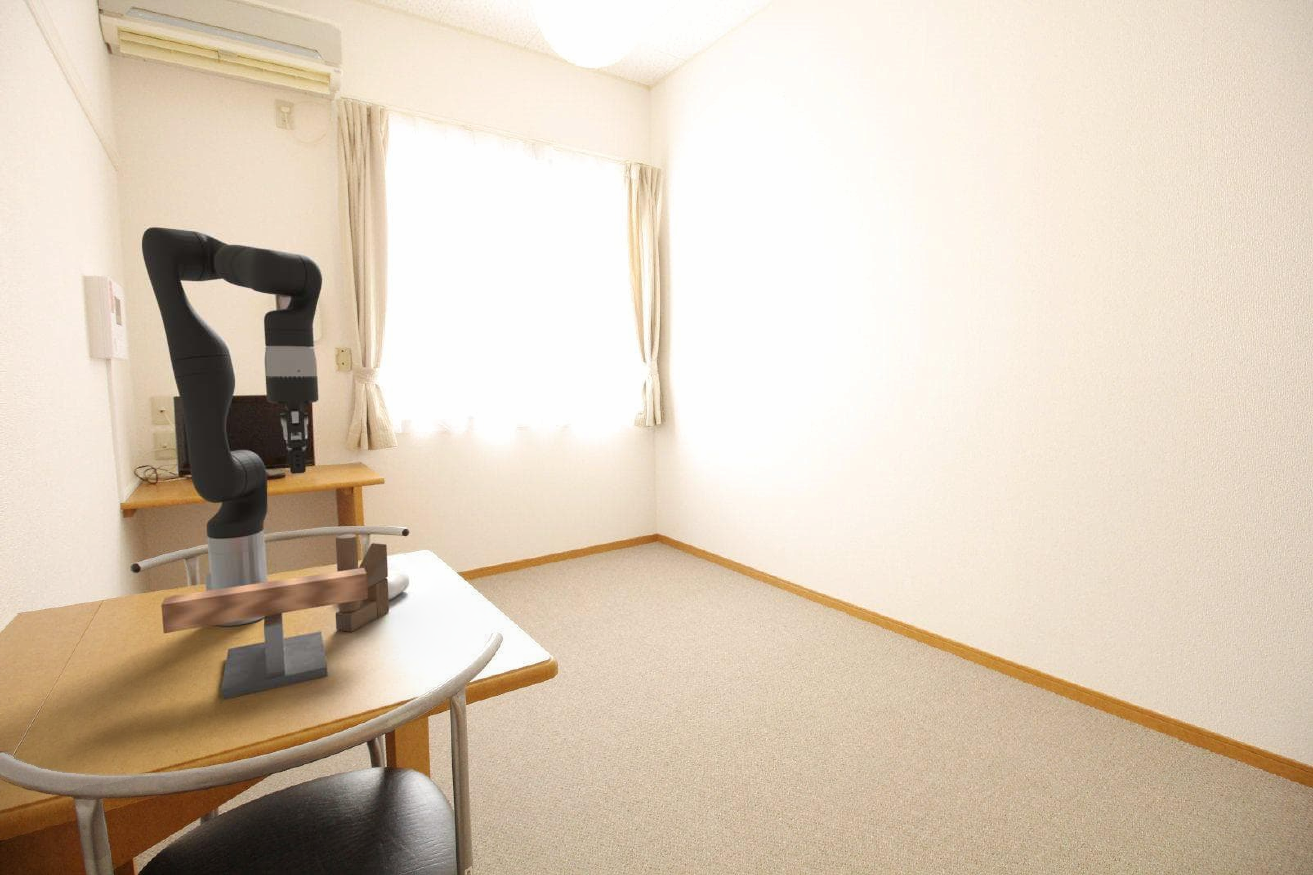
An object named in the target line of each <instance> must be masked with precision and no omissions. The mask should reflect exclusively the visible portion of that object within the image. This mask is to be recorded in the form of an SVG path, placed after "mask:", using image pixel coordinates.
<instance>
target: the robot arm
mask: <svg viewBox="0 0 1313 875" xmlns="http://www.w3.org/2000/svg"><path fill="white" fill-rule="evenodd" d="M141 252H142V256H143V257H142V258H143V261H144V265H145V268H146V271H147V276H148V279H149V281H150V284H151V287H152V289H153V290H152V291H153V293H154V297H155V300H156V302H157V305H158V309H159V312H160V316H161V320H162V324H163V328H164V332H165V336H166V343H167V346H168V352H169V353H168V354H169V358H170V362H171V368H172V372H173V376H174V380H175V384H176V388H177V391H178V392H177V393H178V395H179V401H180V405H181V411H182V416H183V420H184V426H185V433H186V440H187V441H186V442H187V449H188V450H187V451H188V460H189V461H188V462H189V471H190V478H191V482H192V484H193V487H194V489H195V491H196V492H197V494H198V495H199V496H200V497H201V498H202V499H203V500H205V501H207V503H213V504H219V503H221V505H220V508H219V509H218V511H217V512H216V513H215V514H214V515H213V516H212V517H211V518H210V519H209V520H208V521H207V523H206V538H207V549H208V550H207V551H208V552H207V553H208V563H209V566H208V567H209V572H208V573H206V574H205V577H204V579H205V580H204V581H205V591H210V590H217V589H224V588H231V587H237V586H244V585H251V584H258V583H264V582H268V572H267V571H268V570H267V561H266V560H267V558H266V557H267V556H266V544H265V542H266V541H265V529H264V526H265V525H264V523H265V519H266V517H267V515H268V514H267V513H268V475H267V468H266V466H265V463H264V462H263V460H262V459H261V457H260V456H259V455H258V454H257V453H255V452H253V451H251V450H249V449H237V450H230V446H229V442H228V436H227V435H228V434H227V427H226V426H227V417H228V414H229V411H230V410H229V409H230V407H231V403H232V401H233V397H234V393H235V388H236V376H235V372H234V365H233V363H232V362H233V361H232V358H231V357H232V356H231V353H230V350H229V347H228V346H227V344H226V343H225V341H224V340H223V339H222V337H221V336H220V335H219V334H218V333H217V332H216V331H215V330H214V329H213V327H212V326H210V325H209V323H208V322H207V321H205V319H203V318H202V316H201V315H200V314H199V313H198V312H197V311H196V309H195V308H194V307H193V305H192V304H191V302H190V300H189V298H188V296H187V294H186V292H185V289H184V287H183V284H182V282H207V281H216V280H224V281H225V282H227V283H229V284H231V285H235V286H237V287H241V288H247V289H249V290H250V289H251V290H253V291H255V292H258V293H262V294H267V295H276V296H285V297H290V301H289V303H288V305H287V307H286V308H284V309H283V308H282V309H275V310H271V311H268V312H266V313H265V315H264V317H263V330H264V345H265V349H264V350H265V351H264V372H265V373H264V374H265V376H264V377H265V388H266V400H267V402H269V403H271V404H283V405H285V407H284V409H283V411H284V413H280V424H281V426H282V430H283V431H282V432H283V440H285V443H286V450H288V463H289V464H288V465H289V472H290V473H291V474H292V475H293V474H294V475H296V474H304V473H306V469H307V468H306V448H307V441H306V440H307V439H308V437H309V436H308V433H309V432H308V425H309V414H308V412H304V410H303V407H302V406H303V404H305V403H306V404H308V403H317V402H318V401H319V385H318V384H319V383H318V382H319V381H318V367H317V366H318V365H317V364H318V363H317V358H316V356H317V355H316V353H315V344H314V343H315V340H314V321H315V320H314V319H315V316H316V311H317V307H318V306H317V305H318V302H319V299H320V298H319V297H320V295H321V290H322V285H323V275H322V271H321V269H320V266H319V264H318V263H317V262H316V261H315V260H314V259H313V258H311V257H310V256H307V255H303V254H299V253H298V254H297V253H292V252H285V251H281V250H280V251H279V250H274V249H267V248H259V247H254V246H247V245H241V244H228V243H226V242H222V241H221V240H219V239H217V238H215V237H213V236H210V235H208V234H206V233H203V232H200V231H199V232H198V231H195V230H194V231H193V230H185V229H177V228H166V227H157V226H153V227H149V228H147V229H146V230H145V231H144V233H143V234H142V238H141ZM263 618H264V616H263V617H257V618H251V619H245V620H240V621H234V622H228V623H222V624H216V625H217V626H221V627H222V626H225V627H229V626H230V627H231V626H239V625H245V624H249V623H252V622H256V621H259V620H261V619H263Z"/></svg>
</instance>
